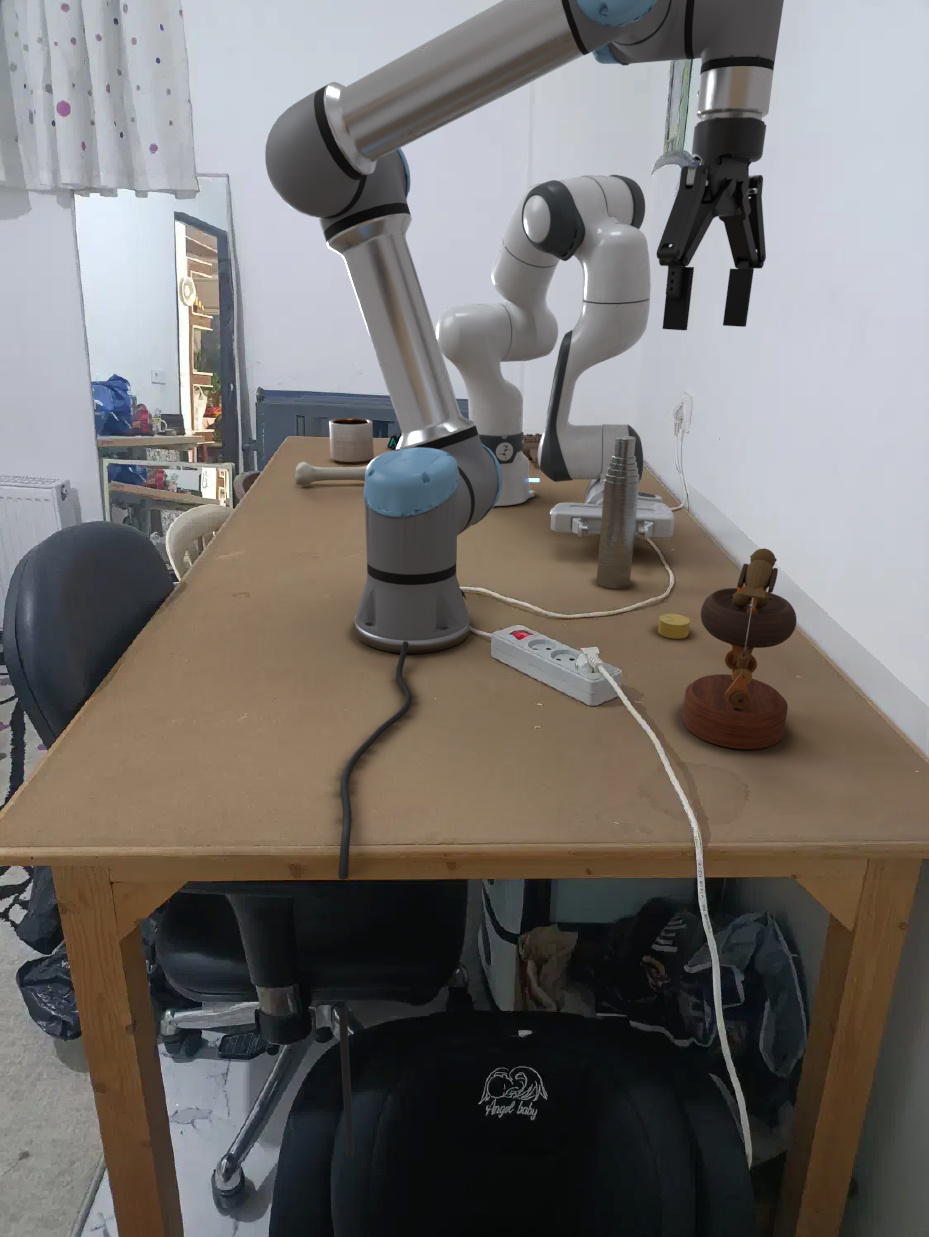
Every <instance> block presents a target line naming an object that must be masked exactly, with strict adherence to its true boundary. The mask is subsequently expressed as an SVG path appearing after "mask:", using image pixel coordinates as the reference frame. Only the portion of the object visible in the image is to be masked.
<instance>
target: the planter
mask: <svg viewBox="0 0 929 1237" xmlns="http://www.w3.org/2000/svg"><path fill="white" fill-rule="evenodd" d="M328 424H329V425H328V426H329V453H330V454H329V455H330V456H329V457H330V459H331V460H332V461H333V462H335V463H341V464H363V463H367V462H371V461H372V460H373V459H374V458H375V457H374V456H375V455H374V452H375V451H374V450H375V449H374V430H373V429H374V428H373V420H371V419H369V418H362V417H361V418H360V417H342V418H341V417H340V418H335V419H334V418H333V419H331V420H329V421H328Z"/></svg>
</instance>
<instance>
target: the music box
mask: <svg viewBox="0 0 929 1237" xmlns="http://www.w3.org/2000/svg"><path fill="white" fill-rule="evenodd" d="M749 557H750V563H743V565H742V568H741V571H740V574H739V577H738V580H737V585H736V586H737V587H732V588H729V587H728V588H722V589H718V590H716V591H714V592H712V593H711V594H709V595H708V597H706V598H705V600H704V601H703V603H702V605H701V608H700V620H701V623H702V625H703V627H704V628H705V630H706V631H707V632H708V633H709V634H710V636H712V637H714V638H715V639H716V640H719V641H721V642H723V643H726V644H729V645H730V646H732V649H730V650H729V651H727V652H726V654H725V656H724V663H725V665H726V667H727V668H728V669H730V670H732V671H731V674H727V673H725V674H724V673H722V674H721V673H720V674H710V675H705V676H702V677H700V678H697V679H696V680H694V681H692V682H691V683H690V684H688V685H687V686H686V688H685V691H684V698H683V707H682V714H681V721H682V724H683V726H685V728H686V729H687V730H688V731H689V732H690V733H691V734H693V735H694V736H696V737H698V738H699V739H701V740H704V742H705V741H706V742H708V743H710V744H714V745H717V746H721V747H725V748H730V749H738V750H759V749H764V748H769V747H771V746H774V745H775V744H777V743H778V742H780V741H781V740H782V738H783V737H784V731H785V726H786V721H787V716H788V709H789V706H788V702H787V701H786V698H784V696H783V695H782V694H781V693H780V692H779V691H778V690H777V689H775V687H772V686H771V685H769V684H768V683H765V682H764V681H761V680H758V679H755V678H753V673H754V672H755V671H756V669H757V668H758V661H757V659H756V657H755V656H754V655H753V654H752V653H753V650H754V649H763V648H764V649H765V648H771V647H775V646H778V645H780V644H783V643H784V642H786V641H787V640H788V639H790V638H791V636H792V635H793V634H794V632H795V630H796V627H797V613H796V611H795V608H794V607H793V606H792V604H791V603H790V602H789V601H788V600H787V599H785V598H784V597H782V596H780V595H777V594H776V593H773V592H774V589H775V586H776V582H777V578H778V574H779V573H778V572H779V569H778V567H774V566H775V564H776V562H777V560H778V559H777V558H776V556H775V554H774V552H773V551H772V550H771V549H769V548H759V549H756V550H754V552H753V553H752V554H751V555H750V556H749Z"/></svg>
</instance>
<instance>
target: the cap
mask: <svg viewBox="0 0 929 1237" xmlns="http://www.w3.org/2000/svg"><path fill="white" fill-rule="evenodd" d="M690 625H691V619H690V618H689V617H688V616H686V615H682V614H678V613H665V614H664V613H663V614H661V615H660V616H659V618H658V626H657V633H658V635H660V636H662V637H665V638H667V639H672V640H673V639H674V640H680V639H685V638H687V637H688V636H689V633H690Z"/></svg>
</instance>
